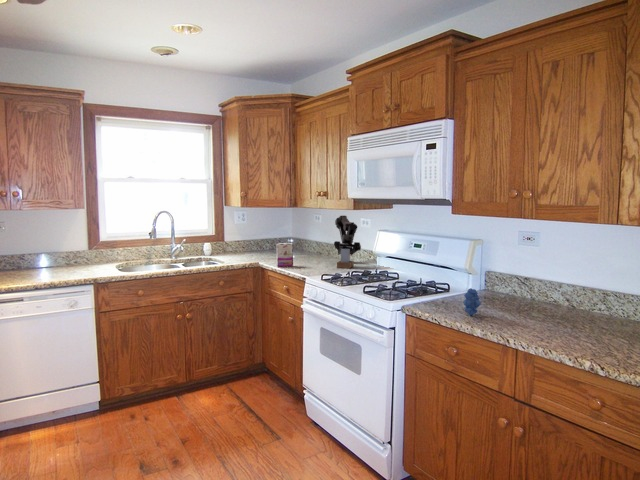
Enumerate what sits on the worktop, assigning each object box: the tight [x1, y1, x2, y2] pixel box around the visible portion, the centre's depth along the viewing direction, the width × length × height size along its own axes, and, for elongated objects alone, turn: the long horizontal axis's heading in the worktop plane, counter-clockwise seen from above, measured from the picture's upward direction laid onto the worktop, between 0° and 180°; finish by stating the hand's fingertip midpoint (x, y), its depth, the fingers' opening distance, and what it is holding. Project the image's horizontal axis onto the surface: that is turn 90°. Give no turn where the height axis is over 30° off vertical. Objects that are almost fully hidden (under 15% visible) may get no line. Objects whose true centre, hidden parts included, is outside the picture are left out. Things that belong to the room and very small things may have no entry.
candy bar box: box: [276, 242, 294, 268], centre depth 314 cm, size 11×5×16 cm, turn 105°
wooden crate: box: [336, 260, 355, 270], centre depth 312 cm, size 9×9×4 cm
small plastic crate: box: [340, 249, 351, 263], centre depth 312 cm, size 5×5×12 cm
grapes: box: [462, 288, 482, 316], centre depth 189 cm, size 12×7×12 cm, turn 135°
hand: (344, 254), depth 310 cm, fingers open, 9 cm apart
